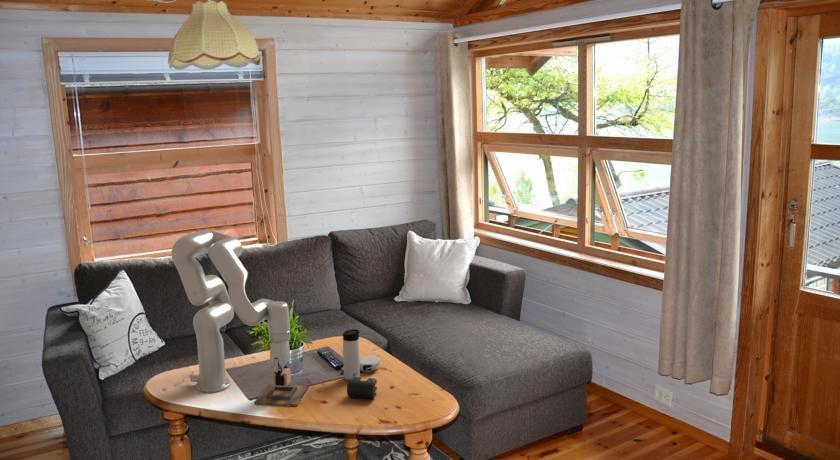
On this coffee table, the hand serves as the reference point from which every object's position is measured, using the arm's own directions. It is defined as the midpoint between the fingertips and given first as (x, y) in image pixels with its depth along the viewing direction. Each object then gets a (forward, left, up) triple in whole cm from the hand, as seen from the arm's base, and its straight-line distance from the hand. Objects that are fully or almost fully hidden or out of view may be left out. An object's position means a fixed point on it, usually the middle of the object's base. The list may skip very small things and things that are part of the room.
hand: (282, 381), depth 255 cm
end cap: (+30, +2, -6) cm, 30 cm away
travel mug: (+23, +18, -6) cm, 30 cm away
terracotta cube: (0, 0, -1) cm, 1 cm away
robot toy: (+24, +28, -6) cm, 38 cm away
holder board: (0, 0, -6) cm, 6 cm away
